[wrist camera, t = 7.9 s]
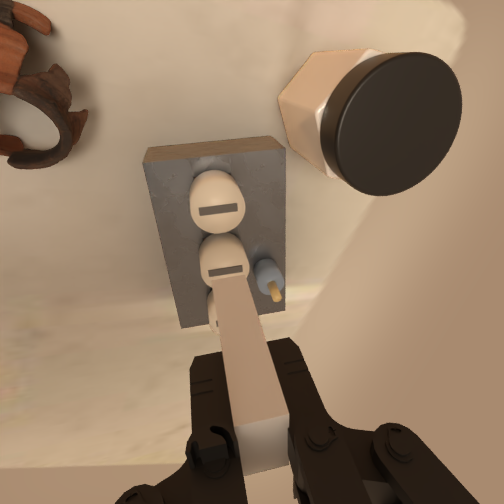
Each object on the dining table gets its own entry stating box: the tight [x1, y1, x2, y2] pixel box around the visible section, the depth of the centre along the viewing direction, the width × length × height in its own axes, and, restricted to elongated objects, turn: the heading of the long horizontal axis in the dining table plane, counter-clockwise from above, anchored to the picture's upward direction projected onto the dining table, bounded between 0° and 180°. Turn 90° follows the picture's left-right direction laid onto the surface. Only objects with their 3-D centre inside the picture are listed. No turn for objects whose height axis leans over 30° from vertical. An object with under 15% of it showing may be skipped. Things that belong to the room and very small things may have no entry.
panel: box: [143, 136, 286, 329], centre depth 31 cm, size 11×17×5 cm, turn 4°
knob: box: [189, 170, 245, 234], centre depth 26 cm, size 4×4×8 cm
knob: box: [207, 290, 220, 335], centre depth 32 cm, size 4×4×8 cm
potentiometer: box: [253, 259, 284, 302], centre depth 29 cm, size 2×2×4 cm
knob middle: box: [199, 232, 249, 287], centre depth 29 cm, size 4×4×8 cm
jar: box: [278, 48, 462, 196], centre depth 24 cm, size 9×8×12 cm
